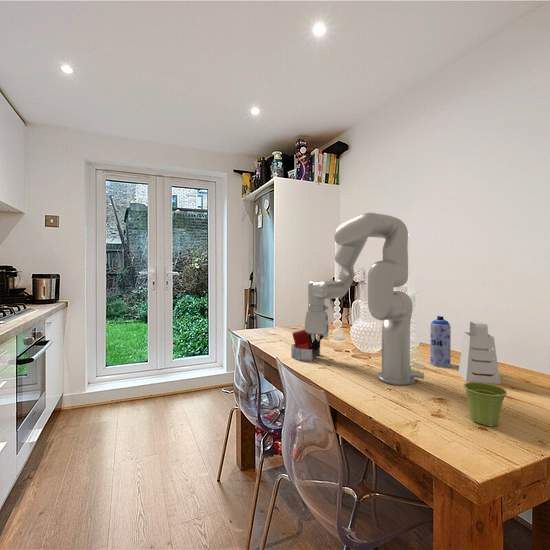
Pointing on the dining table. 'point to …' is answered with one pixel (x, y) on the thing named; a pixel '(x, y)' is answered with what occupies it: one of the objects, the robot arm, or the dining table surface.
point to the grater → (478, 355)
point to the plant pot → (485, 402)
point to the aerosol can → (440, 343)
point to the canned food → (303, 340)
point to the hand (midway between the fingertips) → (316, 349)
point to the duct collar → (303, 353)
